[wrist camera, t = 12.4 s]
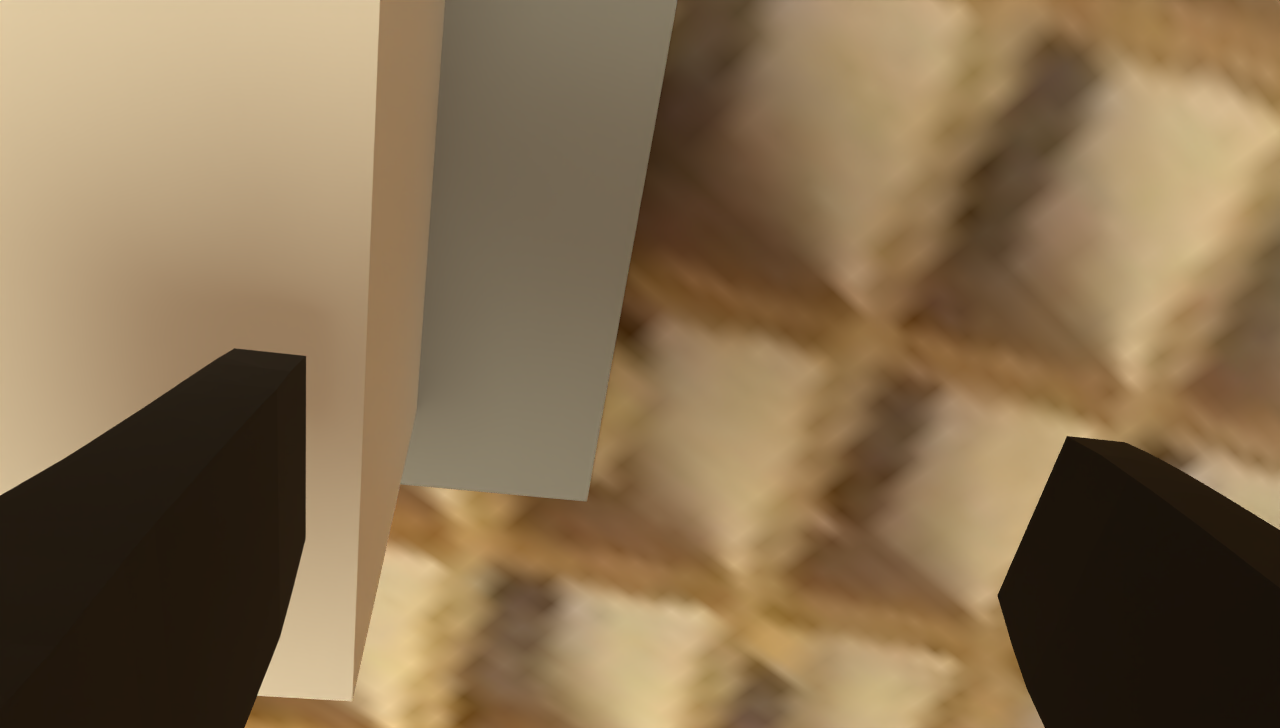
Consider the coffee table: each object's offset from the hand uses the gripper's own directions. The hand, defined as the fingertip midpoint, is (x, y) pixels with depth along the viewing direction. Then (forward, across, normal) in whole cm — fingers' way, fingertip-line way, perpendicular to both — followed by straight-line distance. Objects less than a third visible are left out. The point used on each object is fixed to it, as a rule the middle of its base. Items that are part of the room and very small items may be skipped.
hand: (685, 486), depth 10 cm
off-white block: (+9, +6, 0) cm, 10 cm away
